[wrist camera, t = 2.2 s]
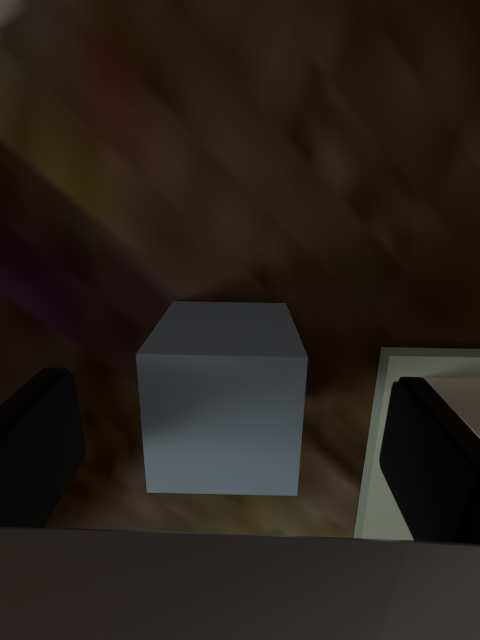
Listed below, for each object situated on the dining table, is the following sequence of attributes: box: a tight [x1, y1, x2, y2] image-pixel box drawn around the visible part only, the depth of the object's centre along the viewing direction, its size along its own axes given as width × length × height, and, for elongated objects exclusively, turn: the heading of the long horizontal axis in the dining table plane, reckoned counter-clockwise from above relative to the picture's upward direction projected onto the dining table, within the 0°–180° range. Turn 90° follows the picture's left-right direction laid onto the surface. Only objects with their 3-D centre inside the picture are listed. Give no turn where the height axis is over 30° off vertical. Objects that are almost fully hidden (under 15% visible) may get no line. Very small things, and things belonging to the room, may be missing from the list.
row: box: [354, 347, 480, 540], centre depth 17 cm, size 21×8×7 cm, turn 179°
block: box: [136, 301, 308, 496], centre depth 14 cm, size 5×5×6 cm
